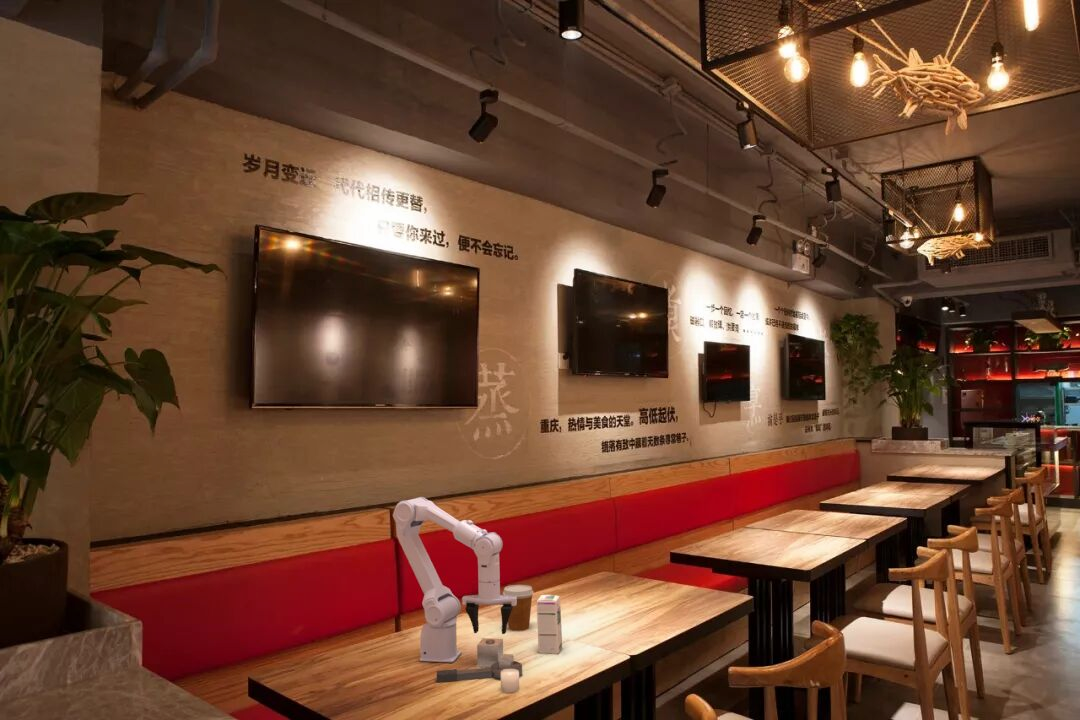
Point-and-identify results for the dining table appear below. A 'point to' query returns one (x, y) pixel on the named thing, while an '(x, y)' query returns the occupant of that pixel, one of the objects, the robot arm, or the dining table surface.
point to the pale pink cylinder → (509, 680)
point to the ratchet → (481, 671)
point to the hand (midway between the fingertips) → (490, 632)
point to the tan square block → (489, 651)
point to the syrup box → (549, 624)
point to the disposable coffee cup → (519, 606)
